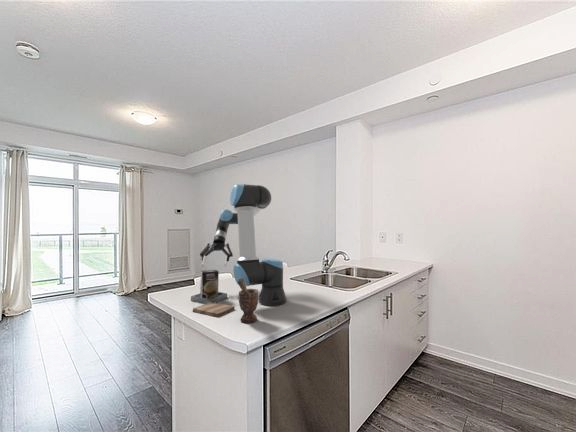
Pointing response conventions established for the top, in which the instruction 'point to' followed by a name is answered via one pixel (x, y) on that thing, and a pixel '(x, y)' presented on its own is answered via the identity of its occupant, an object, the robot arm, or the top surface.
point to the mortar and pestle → (247, 302)
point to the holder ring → (205, 300)
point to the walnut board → (213, 309)
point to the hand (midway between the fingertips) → (214, 265)
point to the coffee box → (209, 284)
